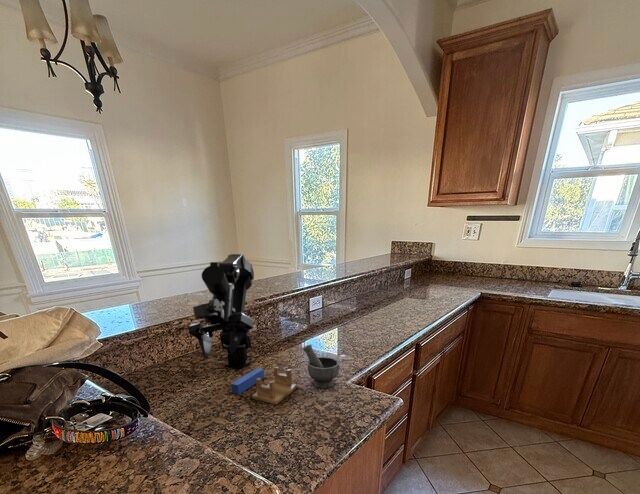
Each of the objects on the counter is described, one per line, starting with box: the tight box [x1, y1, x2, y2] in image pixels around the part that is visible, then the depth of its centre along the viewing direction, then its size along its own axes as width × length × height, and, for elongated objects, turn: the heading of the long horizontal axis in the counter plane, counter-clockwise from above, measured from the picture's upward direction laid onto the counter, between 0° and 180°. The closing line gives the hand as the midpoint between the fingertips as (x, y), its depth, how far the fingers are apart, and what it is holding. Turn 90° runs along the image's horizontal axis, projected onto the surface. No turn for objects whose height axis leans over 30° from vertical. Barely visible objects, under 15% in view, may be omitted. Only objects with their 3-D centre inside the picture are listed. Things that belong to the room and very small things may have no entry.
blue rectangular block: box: [230, 367, 265, 396], centre depth 106 cm, size 13×2×3 cm, turn 155°
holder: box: [251, 366, 298, 405], centre depth 100 cm, size 12×8×6 cm
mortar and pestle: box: [302, 344, 340, 389], centre depth 106 cm, size 11×9×12 cm
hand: (218, 355), depth 96 cm, fingers open, 9 cm apart
